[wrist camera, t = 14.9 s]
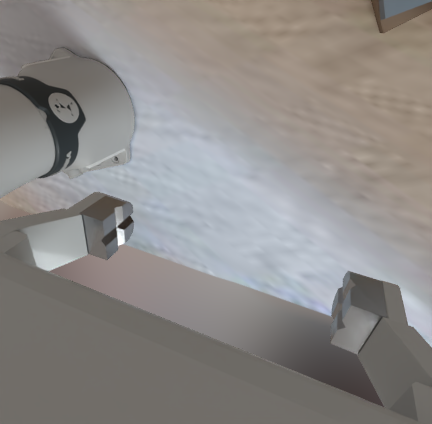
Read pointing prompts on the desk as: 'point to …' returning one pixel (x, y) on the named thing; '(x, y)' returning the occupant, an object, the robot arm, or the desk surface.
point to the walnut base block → (398, 16)
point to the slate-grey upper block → (397, 6)
